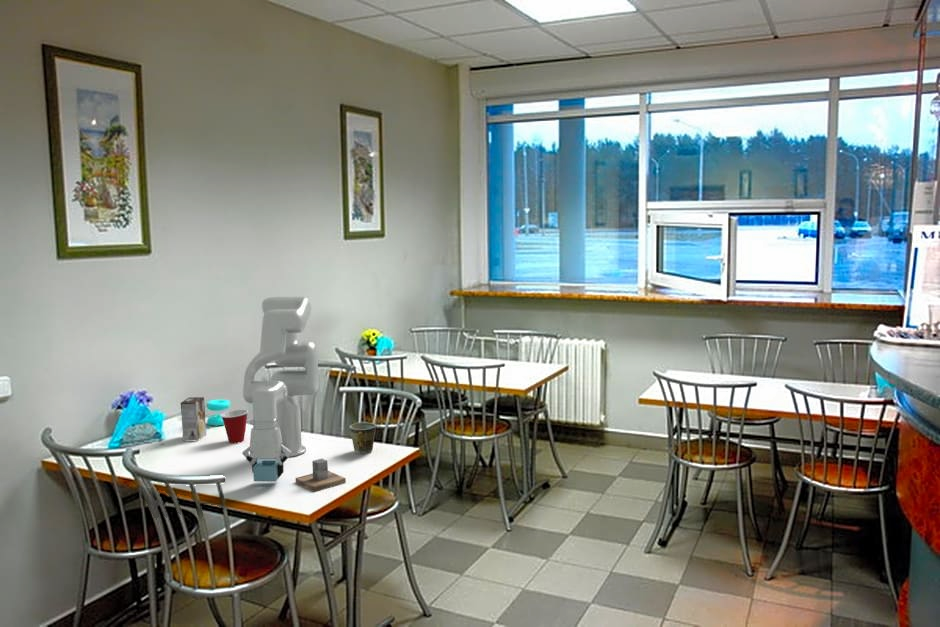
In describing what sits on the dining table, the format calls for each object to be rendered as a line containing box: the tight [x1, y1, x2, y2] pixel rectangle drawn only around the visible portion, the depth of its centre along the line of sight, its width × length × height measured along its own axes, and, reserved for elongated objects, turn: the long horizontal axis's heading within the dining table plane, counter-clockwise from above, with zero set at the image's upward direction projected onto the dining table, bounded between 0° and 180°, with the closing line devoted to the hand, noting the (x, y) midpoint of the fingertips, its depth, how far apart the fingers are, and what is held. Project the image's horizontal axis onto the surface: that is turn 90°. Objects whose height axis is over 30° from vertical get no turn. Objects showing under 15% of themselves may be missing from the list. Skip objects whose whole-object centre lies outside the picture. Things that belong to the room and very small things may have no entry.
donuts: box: [205, 398, 231, 427], centre depth 326 cm, size 10×10×10 cm
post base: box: [295, 458, 347, 492], centre depth 252 cm, size 12×12×8 cm
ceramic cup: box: [349, 421, 377, 455], centre depth 283 cm, size 13×10×10 cm
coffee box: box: [180, 396, 207, 441], centre depth 304 cm, size 9×6×16 cm
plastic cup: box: [220, 409, 249, 444], centre depth 299 cm, size 11×11×12 cm
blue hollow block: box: [252, 459, 280, 483], centre depth 250 cm, size 7×7×5 cm
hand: (268, 474), depth 250 cm, fingers closed on blue hollow block, 7 cm apart
